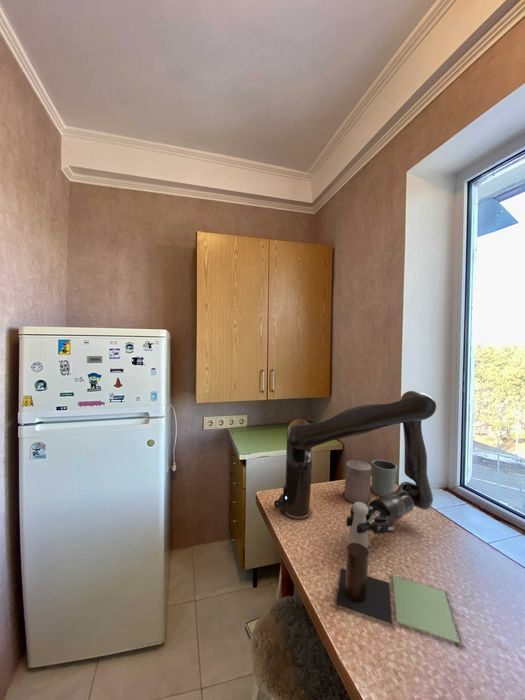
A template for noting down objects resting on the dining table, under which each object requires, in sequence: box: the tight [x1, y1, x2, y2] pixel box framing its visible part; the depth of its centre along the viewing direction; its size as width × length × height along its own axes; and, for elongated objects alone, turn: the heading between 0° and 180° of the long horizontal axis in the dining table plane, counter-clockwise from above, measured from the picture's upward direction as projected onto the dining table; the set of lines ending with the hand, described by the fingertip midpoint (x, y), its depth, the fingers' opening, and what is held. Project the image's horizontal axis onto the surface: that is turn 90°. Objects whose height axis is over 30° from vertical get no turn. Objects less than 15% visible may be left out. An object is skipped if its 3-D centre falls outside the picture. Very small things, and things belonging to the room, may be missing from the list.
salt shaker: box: [347, 502, 370, 549], centre depth 85 cm, size 6×6×13 cm
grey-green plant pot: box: [370, 459, 398, 497], centre depth 125 cm, size 10×10×12 cm
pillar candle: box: [343, 459, 372, 505], centre depth 119 cm, size 10×10×15 cm
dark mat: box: [336, 568, 393, 625], centre depth 73 cm, size 12×12×1 cm
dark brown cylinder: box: [345, 543, 370, 603], centre depth 72 cm, size 5×5×11 cm
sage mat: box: [392, 575, 460, 646], centre depth 70 cm, size 12×14×1 cm
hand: (352, 526), depth 84 cm, fingers closed on salt shaker, 3 cm apart
